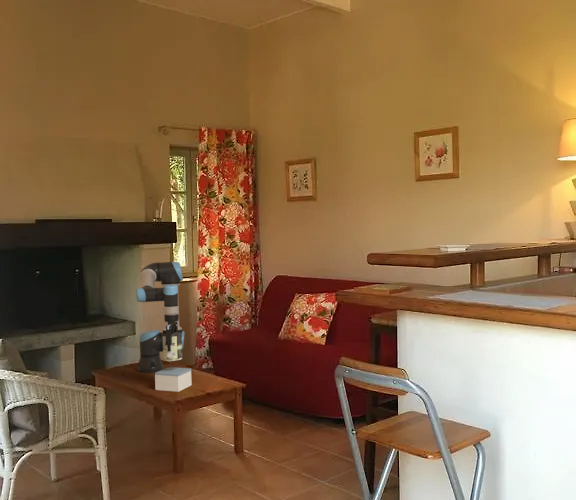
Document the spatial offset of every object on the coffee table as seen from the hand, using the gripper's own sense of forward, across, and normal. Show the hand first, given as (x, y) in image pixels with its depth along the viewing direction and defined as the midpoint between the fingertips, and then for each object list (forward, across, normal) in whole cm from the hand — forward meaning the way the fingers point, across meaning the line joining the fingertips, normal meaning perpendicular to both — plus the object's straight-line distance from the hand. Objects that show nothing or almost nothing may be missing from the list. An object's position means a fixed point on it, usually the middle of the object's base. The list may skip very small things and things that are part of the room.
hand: (172, 355), depth 348 cm
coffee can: (+2, 0, 0) cm, 2 cm away
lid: (+10, 0, 0) cm, 10 cm away
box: (+18, 0, 0) cm, 18 cm away
